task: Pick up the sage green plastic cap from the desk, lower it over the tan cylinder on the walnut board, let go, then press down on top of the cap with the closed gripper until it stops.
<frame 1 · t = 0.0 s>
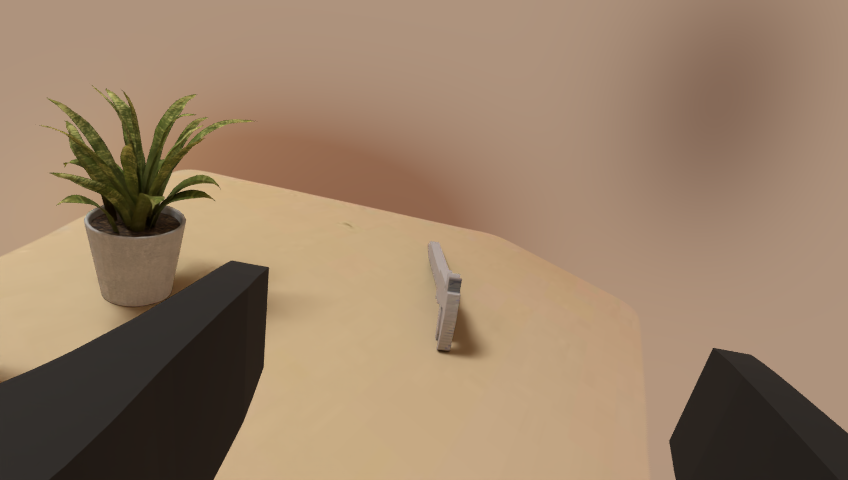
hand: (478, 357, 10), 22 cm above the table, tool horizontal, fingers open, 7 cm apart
house plant: (154, 288, 52), on the table
caliper: (435, 295, 60), on the table
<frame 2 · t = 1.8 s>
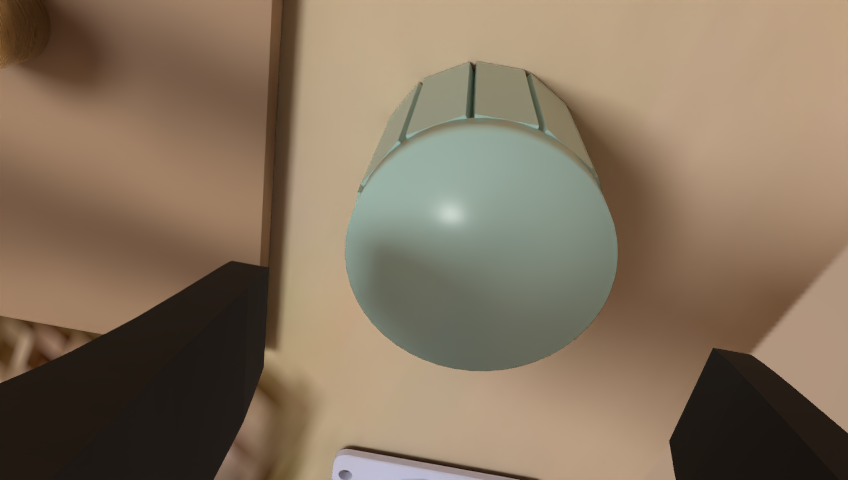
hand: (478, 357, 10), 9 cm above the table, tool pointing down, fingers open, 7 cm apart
walnut board: (29, 9, 18), on the table
cap: (479, 161, 18), on the table
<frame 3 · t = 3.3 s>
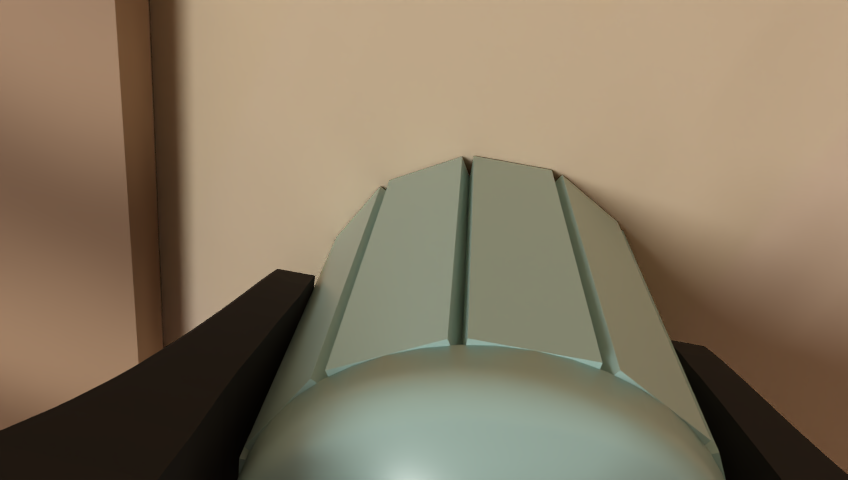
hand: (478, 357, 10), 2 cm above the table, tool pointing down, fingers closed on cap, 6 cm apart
cap: (478, 303, 12), on the table, touching gripper
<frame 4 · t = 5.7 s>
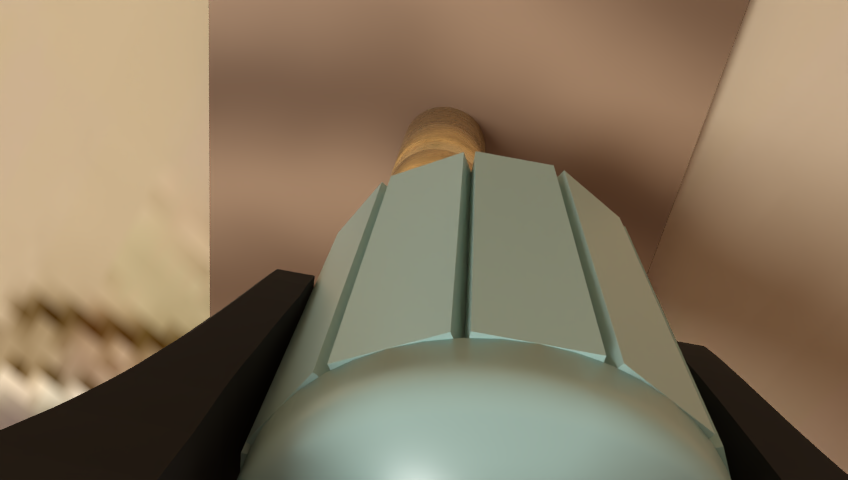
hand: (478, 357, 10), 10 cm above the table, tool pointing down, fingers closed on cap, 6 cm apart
walnut board: (445, 136, 20), on the table
tan cylinder: (439, 177, 17), on the walnut board, point 3 cm above the table
cap: (480, 299, 12), point 9 cm above the table, touching gripper
when the fingers open (4 cm above the table, at t = 8.3 s): cap drops 1 cm, resting on walnut board.
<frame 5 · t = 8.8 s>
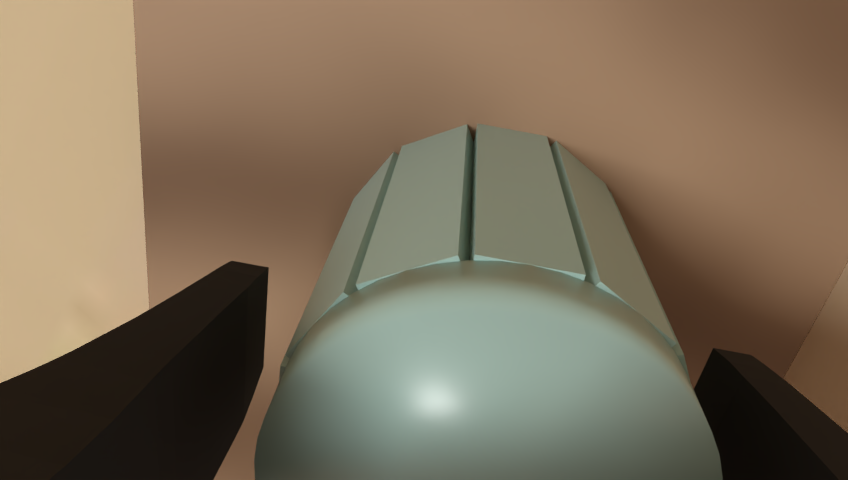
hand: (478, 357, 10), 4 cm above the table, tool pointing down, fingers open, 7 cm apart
walnut board: (479, 240, 14), on the table
cap: (481, 259, 13), point 1 cm above the table, touching walnut board
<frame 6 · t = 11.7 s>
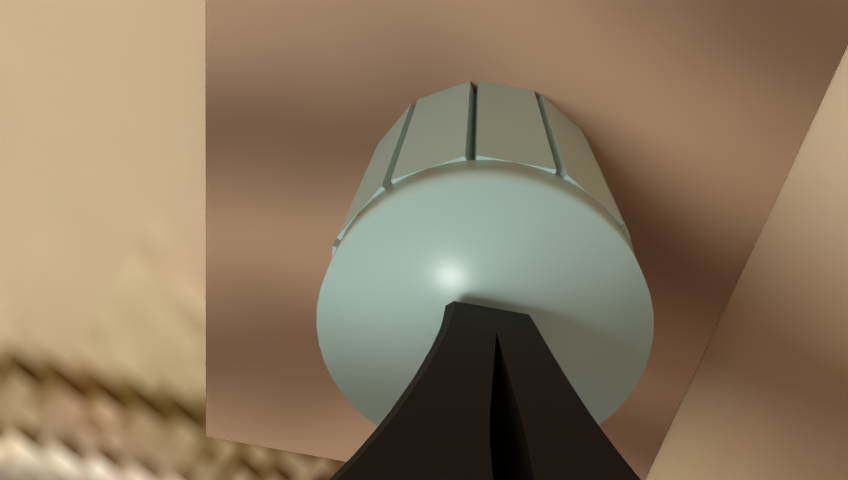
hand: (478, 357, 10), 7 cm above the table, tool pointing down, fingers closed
walnut board: (480, 182, 17), on the table
cap: (481, 194, 16), point 1 cm above the table, touching walnut board
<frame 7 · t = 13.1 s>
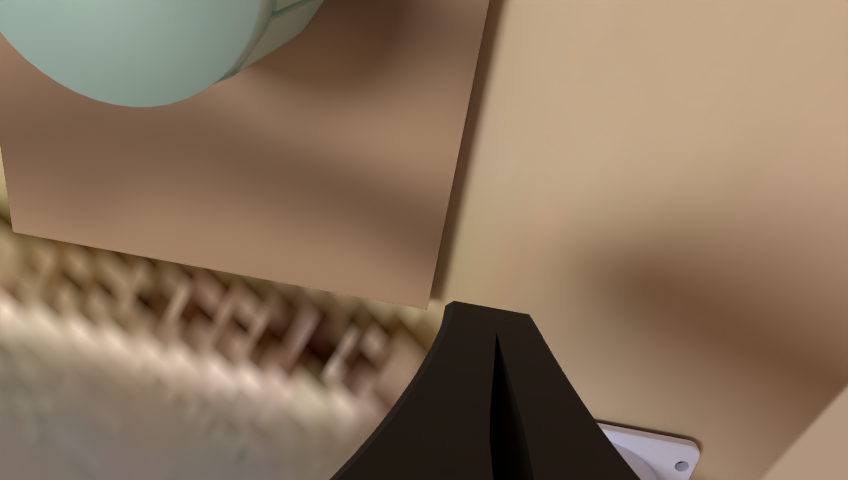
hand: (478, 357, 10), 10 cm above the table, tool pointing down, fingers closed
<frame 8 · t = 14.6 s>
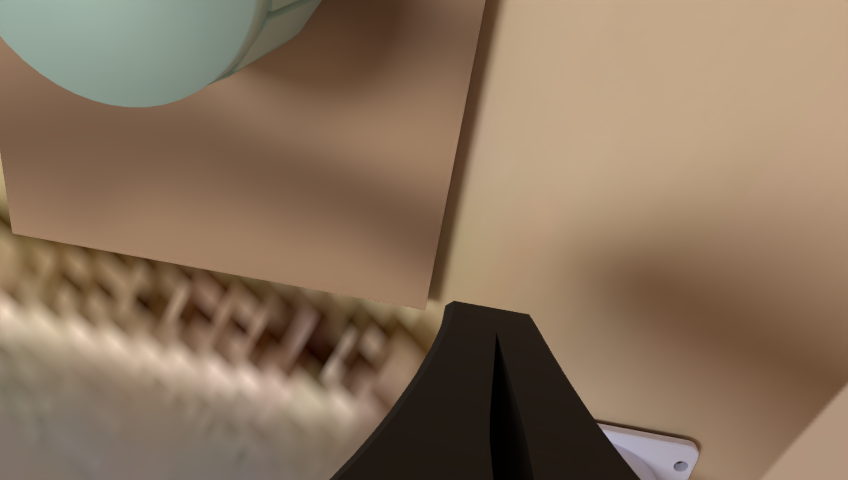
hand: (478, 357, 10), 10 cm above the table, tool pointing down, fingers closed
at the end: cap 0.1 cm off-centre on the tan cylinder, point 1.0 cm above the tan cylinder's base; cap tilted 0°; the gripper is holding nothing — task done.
